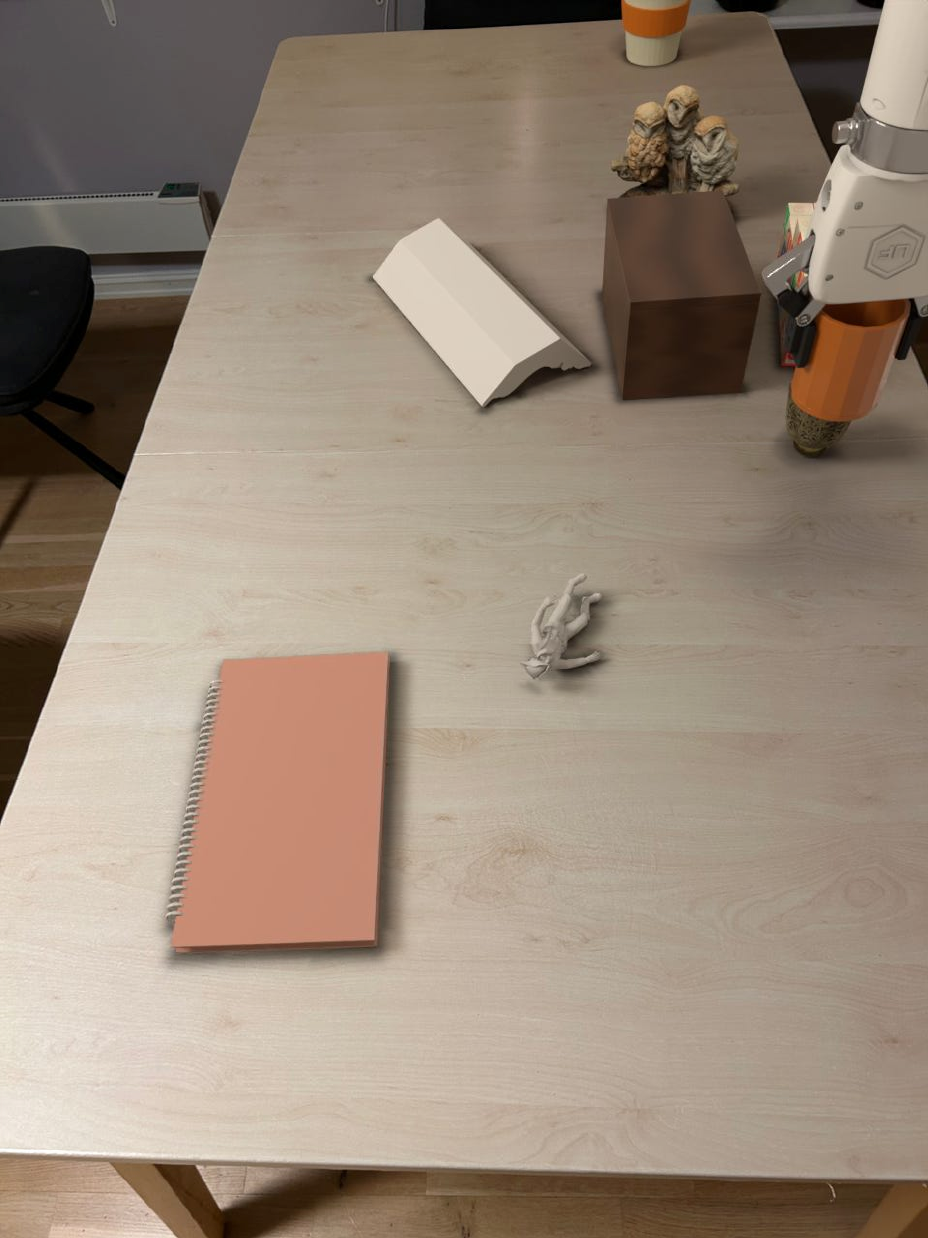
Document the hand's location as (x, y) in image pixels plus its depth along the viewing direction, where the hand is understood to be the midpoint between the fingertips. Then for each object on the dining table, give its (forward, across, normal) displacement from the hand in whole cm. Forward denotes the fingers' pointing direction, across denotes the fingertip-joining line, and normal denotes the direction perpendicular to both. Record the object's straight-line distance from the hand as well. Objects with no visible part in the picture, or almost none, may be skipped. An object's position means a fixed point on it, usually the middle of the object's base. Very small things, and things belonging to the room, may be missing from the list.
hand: (846, 352), depth 77 cm
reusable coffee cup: (+24, +4, +120) cm, 123 cm away
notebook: (+23, -49, -25) cm, 60 cm away
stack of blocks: (+24, +11, +38) cm, 47 cm away
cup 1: (+4, 0, 0) cm, 4 cm away
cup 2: (+24, +6, +14) cm, 28 cm away
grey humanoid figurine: (+23, -24, -10) cm, 35 cm away
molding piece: (+24, -30, +43) cm, 58 cm away
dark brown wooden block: (+23, -6, +36) cm, 43 cm away
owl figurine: (+24, -1, +65) cm, 70 cm away
